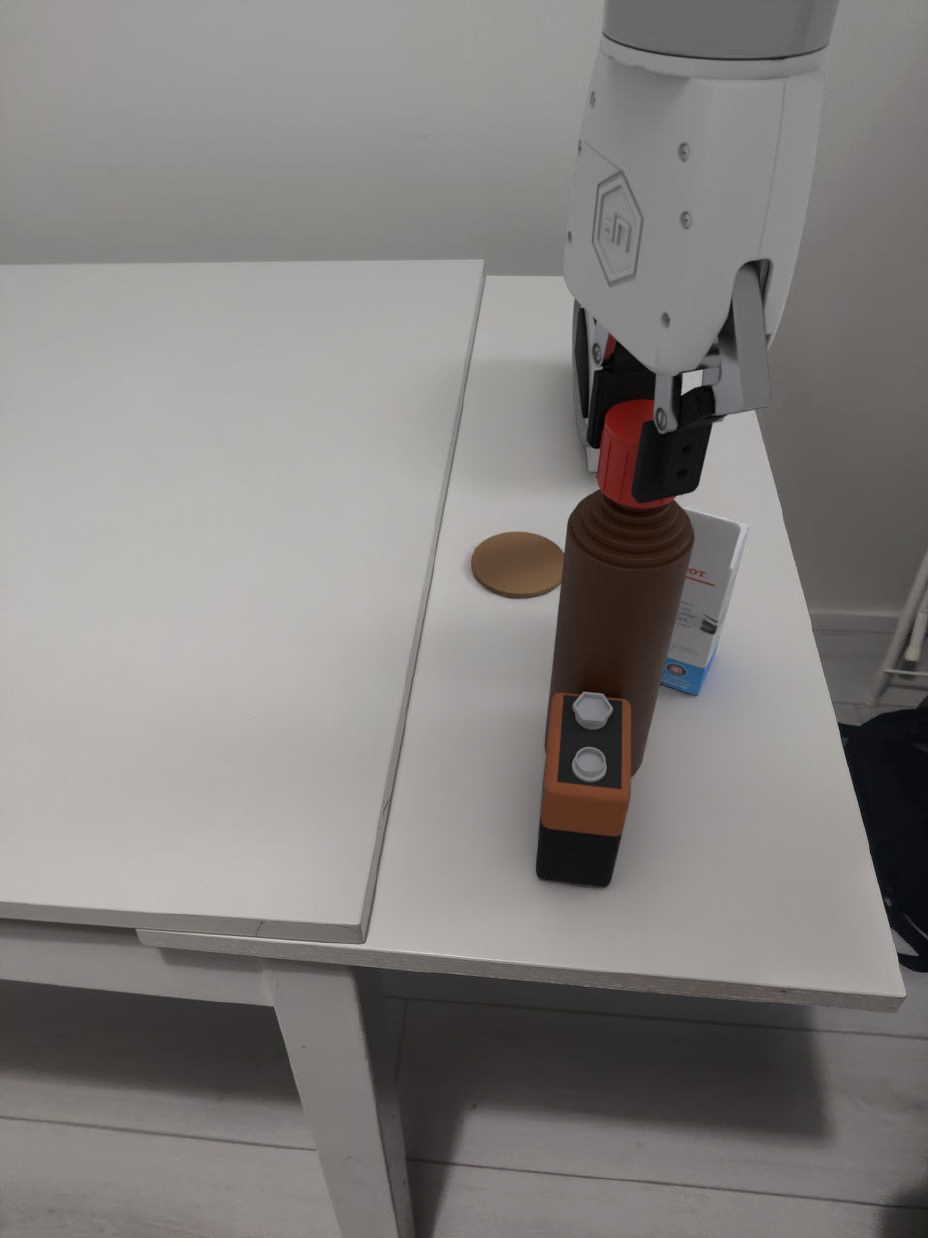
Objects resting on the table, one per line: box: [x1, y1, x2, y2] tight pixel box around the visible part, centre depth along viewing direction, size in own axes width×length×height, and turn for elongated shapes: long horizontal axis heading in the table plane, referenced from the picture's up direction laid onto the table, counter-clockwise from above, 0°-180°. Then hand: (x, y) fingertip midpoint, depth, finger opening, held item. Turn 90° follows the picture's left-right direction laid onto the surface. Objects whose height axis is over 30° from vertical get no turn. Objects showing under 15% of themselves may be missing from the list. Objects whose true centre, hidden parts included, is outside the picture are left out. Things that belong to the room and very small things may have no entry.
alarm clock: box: [571, 298, 602, 473], centre depth 81 cm, size 23×6×13 cm, turn 178°
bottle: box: [543, 488, 695, 778], centre depth 49 cm, size 6×6×24 cm
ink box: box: [660, 505, 750, 696], centre depth 58 cm, size 8×5×15 cm, turn 63°
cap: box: [595, 399, 677, 509], centre depth 41 cm, size 4×4×4 cm
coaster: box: [470, 531, 564, 599], centre depth 70 cm, size 8×8×1 cm
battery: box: [535, 692, 632, 888], centre depth 49 cm, size 4×7×10 cm, turn 172°
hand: (640, 463), depth 41 cm, fingers closed on cap, 3 cm apart
